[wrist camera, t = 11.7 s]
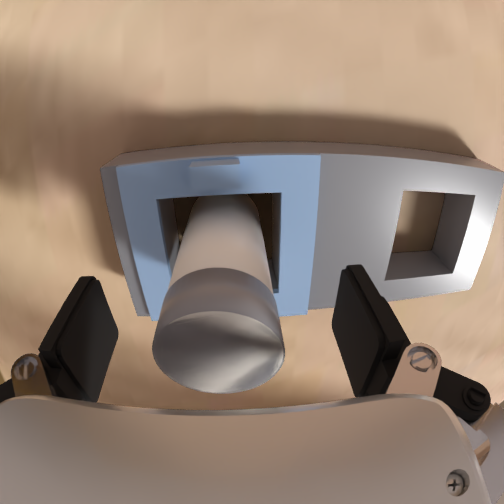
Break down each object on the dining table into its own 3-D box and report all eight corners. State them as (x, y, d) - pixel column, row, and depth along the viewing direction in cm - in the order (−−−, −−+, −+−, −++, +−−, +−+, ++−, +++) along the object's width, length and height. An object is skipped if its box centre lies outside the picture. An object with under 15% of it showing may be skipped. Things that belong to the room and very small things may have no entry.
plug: (259, 184, 16) (288, 305, 8) (260, 249, 19) (281, 390, 10) (185, 188, 16) (136, 310, 8) (193, 252, 18) (168, 393, 10)
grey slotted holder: (477, 158, 16) (520, 180, 12) (450, 267, 20) (479, 300, 17) (121, 153, 15) (87, 176, 11) (147, 286, 20) (132, 332, 16)
